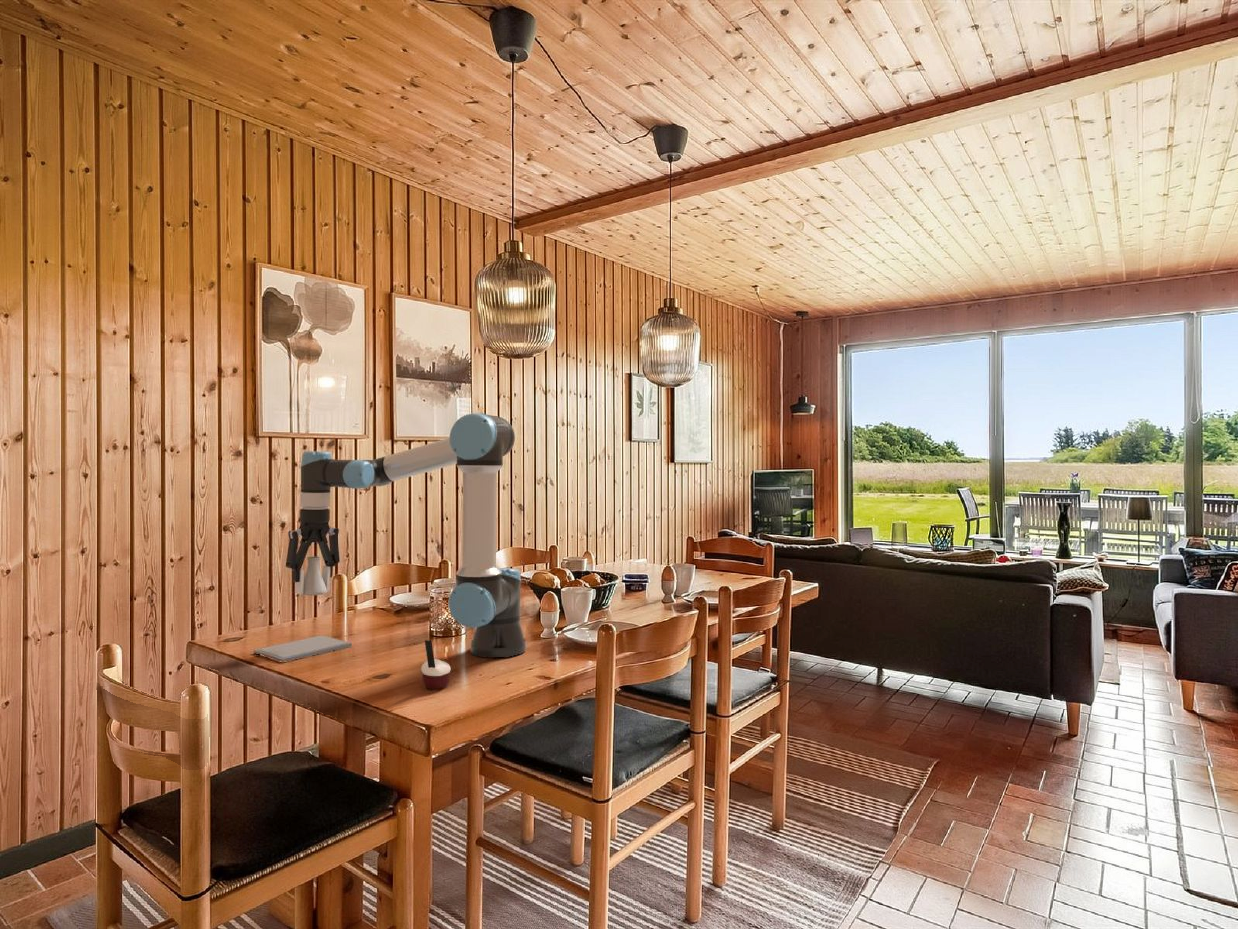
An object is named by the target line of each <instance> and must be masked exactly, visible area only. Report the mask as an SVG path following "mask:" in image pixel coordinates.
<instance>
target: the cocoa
mask: <svg viewBox="0 0 1238 929" xmlns="http://www.w3.org/2000/svg"><path fill="white" fill-rule="evenodd" d="M424 640H425V639H424ZM424 645H425V647H424V648H425V652H426V659H427V660H426V661H424V662H423V664H421V669H420V671H421V674H422V681H423V685H424V686H425V687H426V688H427V689H428V688H429V690H431V689H439V690H441V688H442V689H444V688H445V687H447V685H448V683H449V682H450V677H451V669H452V668H451V666H450V664H449V663H448V662H446V661H444V660H442V659H438V658H435V655H434V647H433V641H432V640H427V639H426V640H425V641H424Z"/></svg>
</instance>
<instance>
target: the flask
mask: <svg viewBox="0 0 1238 929" xmlns="http://www.w3.org/2000/svg"><path fill="white" fill-rule="evenodd" d="M306 560H307V567H306V571H305V573H304V584H303V594H302V595H301V596H309V597H310V596H321V595H324V594H327V593H328V591H327V589H326V586H325V584H324V581H323V578H322V571H321V569H320V560H321V557H320V556H308V557H306Z"/></svg>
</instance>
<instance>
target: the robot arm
mask: <svg viewBox="0 0 1238 929" xmlns="http://www.w3.org/2000/svg"><path fill="white" fill-rule="evenodd" d="M515 435H516V434H515V431H514V428H513V426H512V424H510V422H509V421H507V420H506V419H505V418H503V417H502V416H501V417H500V416H497V415H491V414H486V413H481V412H477V413H468V414H465V415H463V416H461V417H459V419H457V420H456V421H455V423H453V425H452V427H451V429H450V431H449V437H447V438H444V439H441V440H437V441H434V442H431V443H427V444H422V445H420V446H417V447H413V448H410V449H406V450H403V451H400V452H399V451H398V452H397V453H392V454H389V455H386V456H382V457H378V458H374V459H335V458H334V459H333V457H332V453H331V452H330V451H313V450H307V451H303V453H302V456H301V464H300V499H299V500H300V501H299V506H300V507H302V508H300V509H299V527H298V528H297V529H294V530H289V531H288V533H287V534H288V538H289V540H288V548H287V552H286V553H287V554H286V560H285V568H288V569H292V570H291V571H292V582H294V594H297V595H299V596H303V595H302V594H303V584H304V576H305V570H304V569H302V567H303V565H304V562H305V559H306V558H307V557H306V556H307V554H308V551H309V549H310V547H311V546H312V544H313V543H317V545H318V548H319V551H320V553H321V556H322V558H323V562H324V565H322V567H321V575H322V578H323V581H324V584H325V586H326V589H327V592H329V591H330V590H331V589H330V588H331V578H333V573H334V572H333V571H334V568H333V567H336V564H340V550H339V533H340V532H339V531H340V529H339V528H336V527H331V526H330V525H329V524H330V523H329V521H330V519H331V518H330V517H331V515H330V513H331V509H330V508H329V507H331V488H334V487H335V488H345V489H346V488H348V489H353V490H354V489H355V490H357V489H358V490H359V489H367V488H369V487H384V486H387V485H389V484H391V483H392V482H396V481H399V480H403V479H407V478H411V477H415V476H417V475H421V474H425V473H429V472H432V471H435V470H439V469H443V468H447V467H450V466H455V465H456V467H457V468H458V469H459V470H460V472H461V473H462V518H461V519H462V524H461V525H462V527H461V528H462V530H461V531H462V532H461V533H462V534H461V536H462V539H461V540H462V541H461V542H462V548H461V549H462V550H461V555H462V556H461V566H460V568H459V569H458V570H457V571H456V572H455V586H454V588H453V589H452V591H451V592H450V595H449V597H448V609H449V612H450V614H451V616H452V617H453V619H454V620H455V621H456V622H458V624H460V625H462V626H463V627H465V628H473V629H475V630H474V632H473V637H472V640H471V642H470V647H469V648H470V653H471V655H474V656H476V657H480V658H486V657H505V658H511V657H510V656H512V657H515V656H514V655H516V656H518V655H517V654H520V655H522V654H524V653H525V652H526V651H525V650H526V649H527V647H526V646H527V642H526V639H525V638H524V634H523V629H522V626H521V583H522V579H521V571H520V570H519V569H517V568H511V567H510V568H509V567H498V566H497V564H496V563H497V481H498V480H497V478H498V477H497V474H498V472H499V470H500V469H502V468H503V467H504V466H503V463H504V461H503V460H504V458H503V457H505V456H507V454H509V453H510V452H511V450H512V449H513V447H514V444H515V439H516V436H515ZM327 535H328V538H327ZM300 537H301V540H300V542H299V538H300ZM524 651H525V652H524ZM523 652H524V653H523ZM521 653H522V654H521Z"/></svg>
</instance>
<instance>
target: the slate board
mask: <svg viewBox="0 0 1238 929" xmlns="http://www.w3.org/2000/svg"><path fill="white" fill-rule="evenodd" d="M347 647H348V648H350V647H351V648H352V642H349V641H346V640H342V639H339V638H336V637H335V638H334V637H331V636H327V635H323V634H322V635H316V636H312V637H311V636H310V637H307V638H302V639H298V640H293V641H288V642H285V643H280V644H279V643H278V644H275V645H271V646H267V647H262V648H257V649H253V654H254V653H256V654H262V655H264V656H266V657H270V658H273V659H275V660H277V661H282V662H284V661H290V662H292V661H291V660H294V661H296V660H295V659H298V660H300V659H299V658H302V657H307V658H310V657H309V656H311V657H313V656H312V655H315V656H317V655H316V654H319V655H322V654H327V653H330V652H329V651H331V652H334V651H333V650H335V651H339V650H343V648H344V649H348V648H347ZM326 652H327V653H326ZM256 654H255V655H256ZM302 659H303V658H302ZM277 661H276V662H277Z"/></svg>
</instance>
